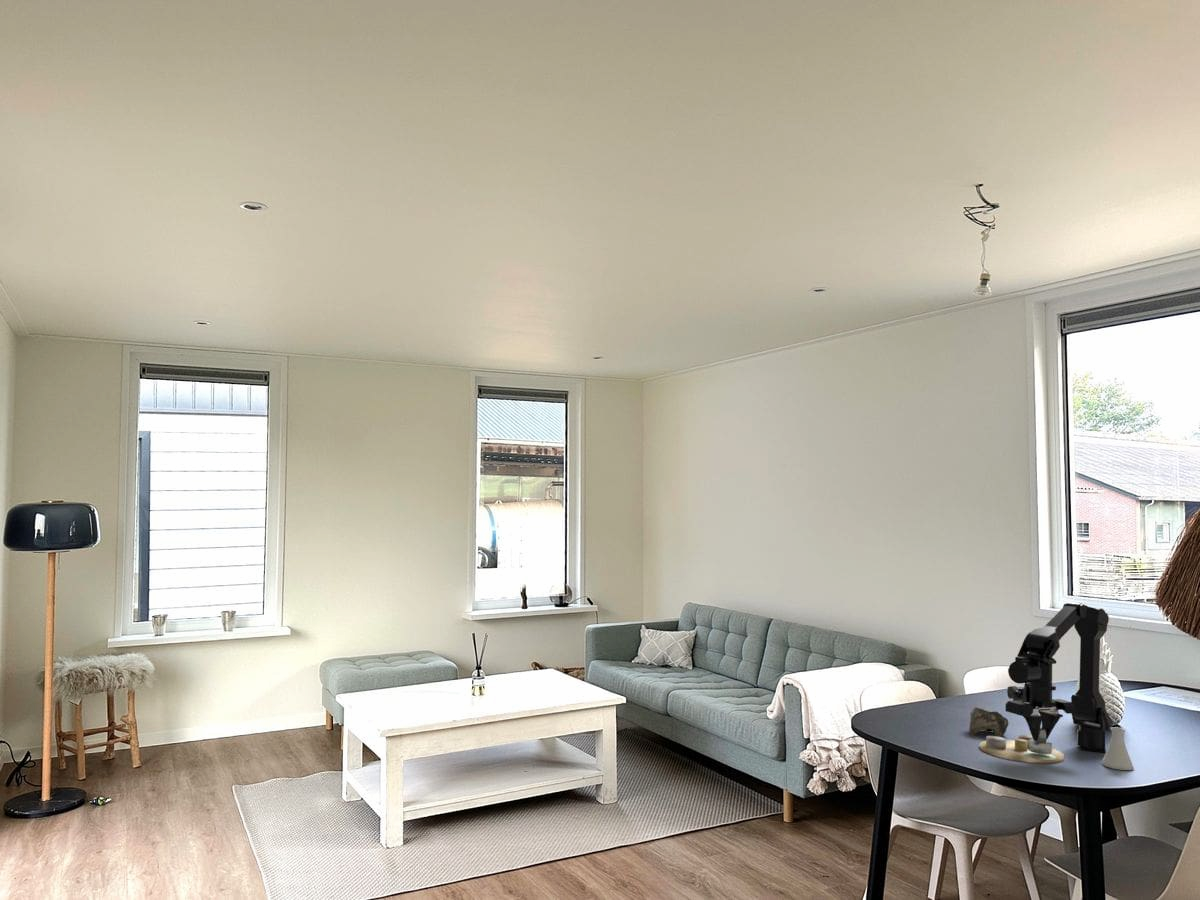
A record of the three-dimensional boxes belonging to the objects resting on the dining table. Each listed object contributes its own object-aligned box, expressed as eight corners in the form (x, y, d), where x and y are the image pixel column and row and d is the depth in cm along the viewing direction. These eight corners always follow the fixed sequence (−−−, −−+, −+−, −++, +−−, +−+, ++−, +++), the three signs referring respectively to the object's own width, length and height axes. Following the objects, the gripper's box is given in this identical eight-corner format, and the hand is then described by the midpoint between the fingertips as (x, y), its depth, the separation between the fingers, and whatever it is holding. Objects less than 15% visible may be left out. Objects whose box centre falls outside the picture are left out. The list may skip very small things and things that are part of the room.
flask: (1122, 763, 240) (1122, 725, 241) (1139, 771, 233) (1139, 732, 234) (1096, 762, 240) (1096, 724, 241) (1112, 770, 233) (1112, 731, 233)
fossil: (1005, 730, 271) (1009, 703, 267) (1008, 751, 263) (1012, 724, 259) (966, 725, 275) (969, 698, 271) (968, 745, 267) (971, 719, 263)
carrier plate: (1063, 749, 252) (1063, 737, 252) (1065, 767, 233) (1065, 755, 234) (981, 738, 261) (981, 727, 262) (977, 755, 243) (977, 742, 243)
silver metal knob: (1051, 750, 243) (1051, 727, 243) (1051, 755, 238) (1051, 732, 238) (1028, 747, 245) (1028, 725, 246) (1028, 752, 240) (1028, 729, 240)
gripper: (1043, 674, 253) (1043, 730, 252) (990, 676, 247) (990, 733, 246) (1076, 682, 243) (1076, 741, 242) (1021, 684, 237) (1021, 744, 236)
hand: (1040, 739), depth 242 cm, fingers closed on silver metal knob, 3 cm apart
